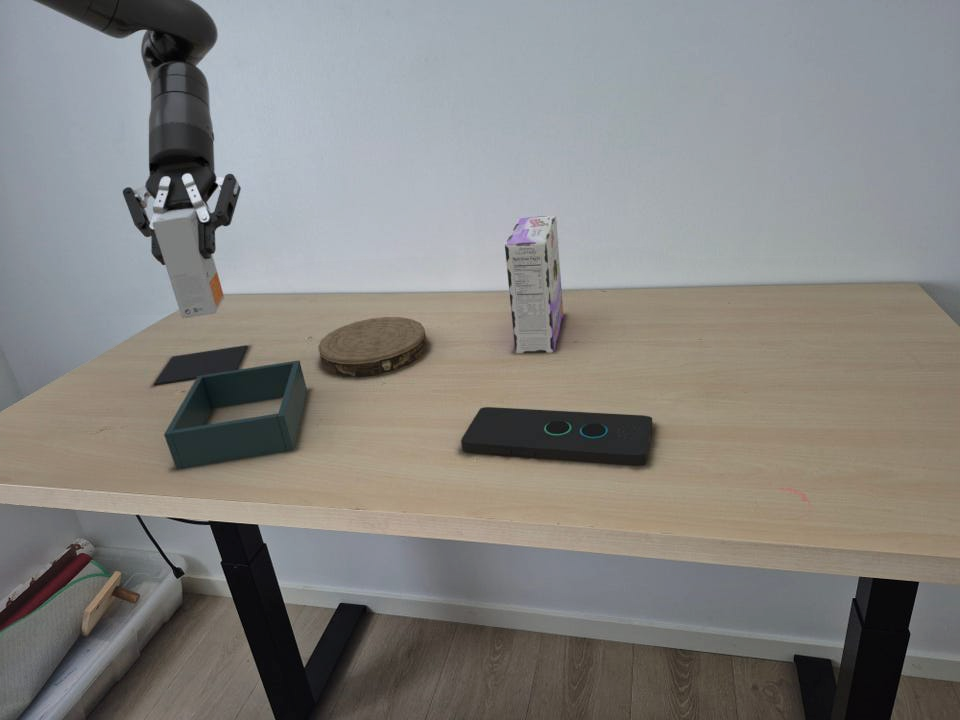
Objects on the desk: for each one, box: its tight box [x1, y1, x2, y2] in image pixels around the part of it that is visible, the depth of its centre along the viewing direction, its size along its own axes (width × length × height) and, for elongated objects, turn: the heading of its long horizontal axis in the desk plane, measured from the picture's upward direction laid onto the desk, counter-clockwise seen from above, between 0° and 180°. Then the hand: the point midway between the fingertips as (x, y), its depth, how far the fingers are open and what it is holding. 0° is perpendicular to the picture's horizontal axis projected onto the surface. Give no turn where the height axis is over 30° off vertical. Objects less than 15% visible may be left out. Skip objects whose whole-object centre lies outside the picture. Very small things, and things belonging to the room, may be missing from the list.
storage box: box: [163, 359, 308, 470], centre depth 87 cm, size 14×16×5 cm
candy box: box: [504, 215, 564, 354], centre depth 101 cm, size 14×6×16 cm, turn 168°
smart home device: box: [460, 406, 653, 467], centre depth 77 cm, size 8×2×20 cm
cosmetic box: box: [153, 207, 225, 319], centre depth 84 cm, size 6×4×12 cm
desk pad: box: [153, 345, 248, 386], centre depth 109 cm, size 12×10×1 cm
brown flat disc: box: [317, 316, 428, 379], centre depth 104 cm, size 16×16×3 cm
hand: (184, 258), depth 82 cm, fingers closed on cosmetic box, 4 cm apart
